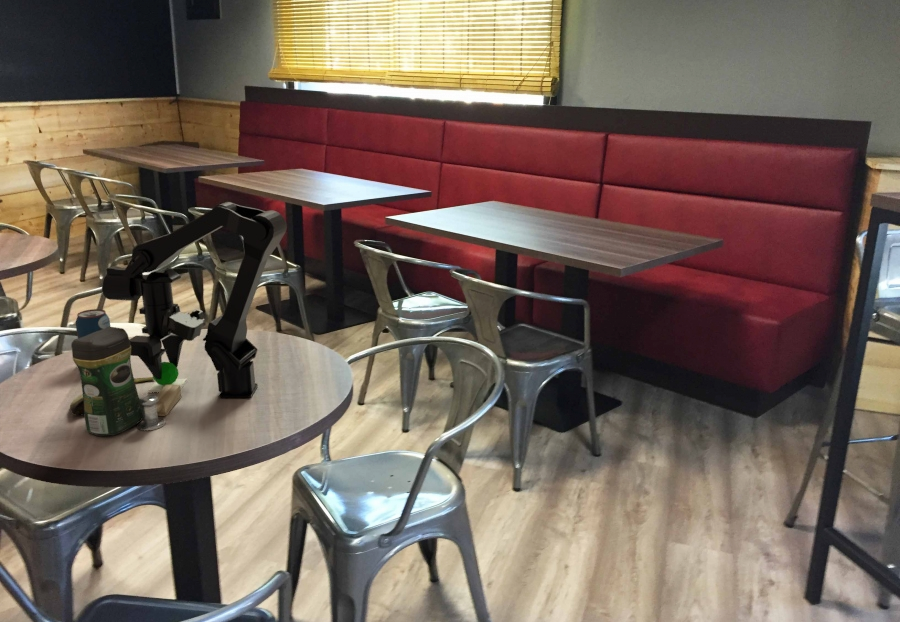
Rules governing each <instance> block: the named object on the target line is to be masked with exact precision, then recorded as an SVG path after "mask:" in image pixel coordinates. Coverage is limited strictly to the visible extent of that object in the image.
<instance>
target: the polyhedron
mask: <svg viewBox="0 0 900 622" xmlns="http://www.w3.org/2000/svg"><path fill="white" fill-rule="evenodd" d="M152 377H153V379H154V381H155V382H157V383H158V384H160V385H170V384H172V383H174V382H175V381H176V379H178V377H179V369H178V367H177V368H176V366H175V365H174V364H173V363H170V362H169V361H162V377H161V379H155V377H154V376H153V375H152Z"/></svg>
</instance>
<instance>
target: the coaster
mask: <svg viewBox="0 0 900 622" xmlns="http://www.w3.org/2000/svg"><path fill="white" fill-rule="evenodd" d="M187 382H188V378H177V379H176V381H175V382H174V383H172V384H170V385H180V388H181V389H182V388H183V387H184V386H185V385H186V384H187ZM164 386H165V385H160V384H158V383H157V382H156V381H155V382H154V383H153V384H152V386H150V388H149V389H148V391H147V392H148V393H149V394H150V393H151V394H153V393H154V392H157V393H156V394H158V392H160V391H161V390H162V389H163V388H164ZM152 392H153V393H152ZM154 394H155V393H154Z"/></svg>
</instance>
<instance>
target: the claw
mask: <svg viewBox="0 0 900 622" xmlns="http://www.w3.org/2000/svg"><path fill="white" fill-rule="evenodd" d="M153 380H154V379H153V376H149V377H147V376H146V377H135V378H134V381H135V384H138V383H139V384H140V383H143V382H148V381H153ZM154 381H155V380H154ZM69 410H70V412H71V414H73V416H76V417H83V416H84V402H83V393H81V394H80V395H79V396H77V397H76V398H74V399H73V400H72V401H71V402H70V405H69Z"/></svg>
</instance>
